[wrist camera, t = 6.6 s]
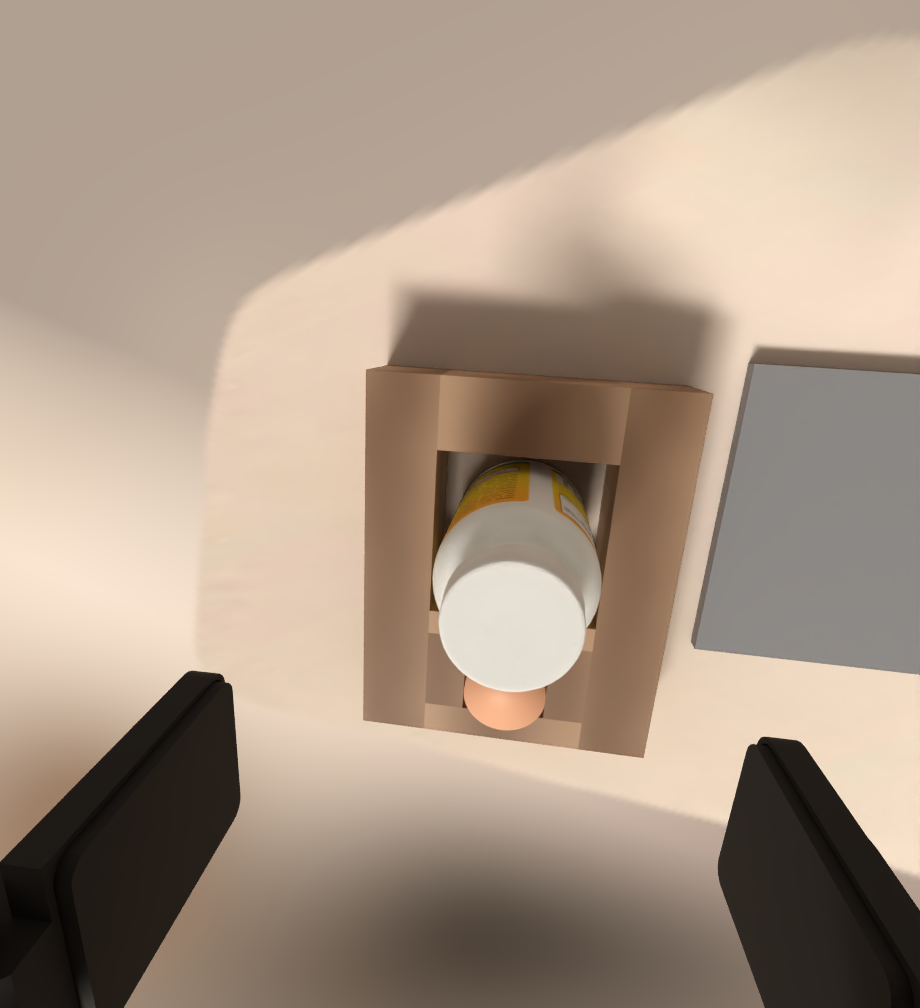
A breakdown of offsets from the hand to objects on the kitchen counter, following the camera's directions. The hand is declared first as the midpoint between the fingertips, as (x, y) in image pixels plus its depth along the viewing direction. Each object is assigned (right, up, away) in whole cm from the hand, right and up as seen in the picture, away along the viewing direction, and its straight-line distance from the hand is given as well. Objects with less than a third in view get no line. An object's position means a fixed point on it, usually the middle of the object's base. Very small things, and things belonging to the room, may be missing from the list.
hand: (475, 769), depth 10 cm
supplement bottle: (+2, +4, +14) cm, 15 cm away
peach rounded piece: (+2, -2, +16) cm, 16 cm away
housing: (+2, +3, +14) cm, 15 cm away
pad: (+16, +4, +12) cm, 21 cm away
